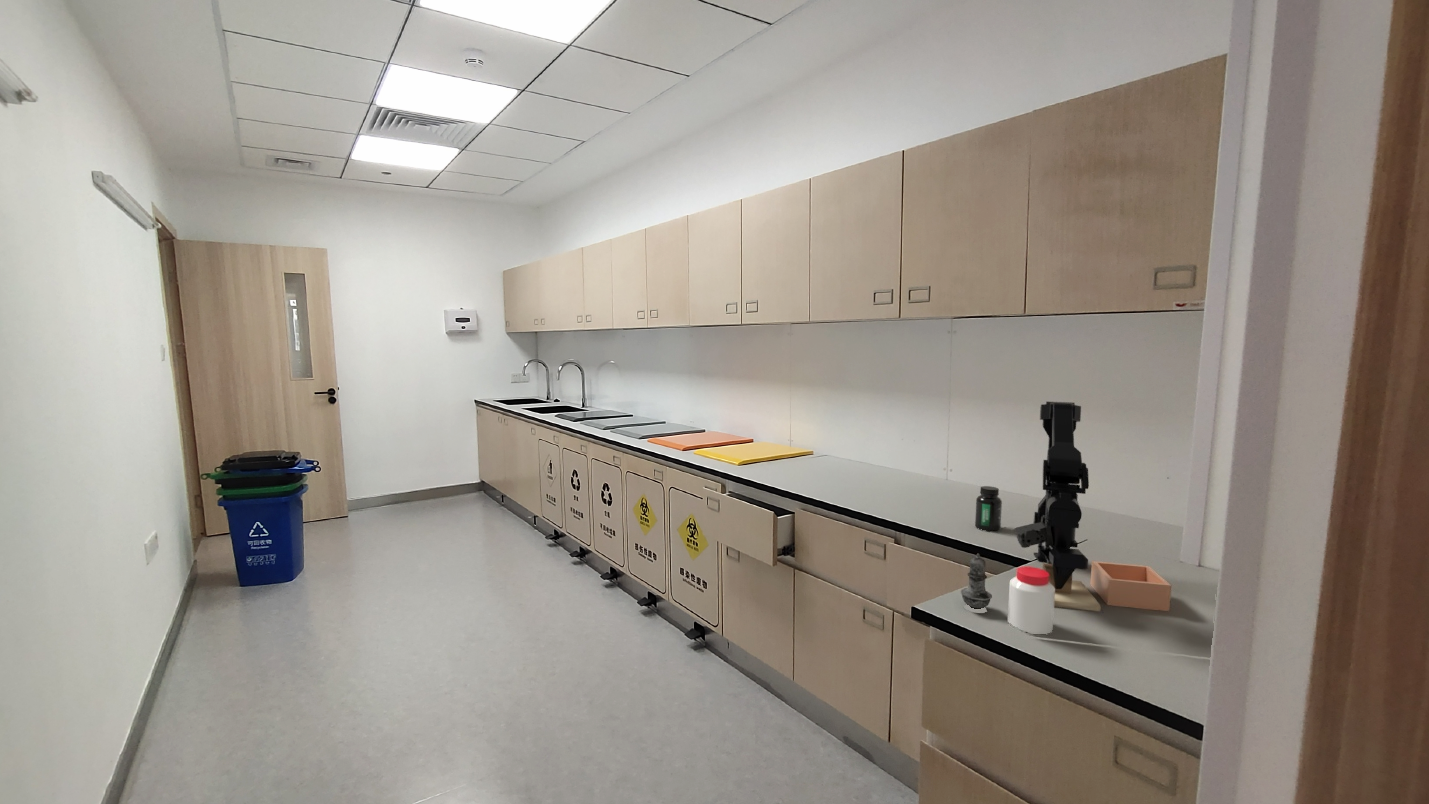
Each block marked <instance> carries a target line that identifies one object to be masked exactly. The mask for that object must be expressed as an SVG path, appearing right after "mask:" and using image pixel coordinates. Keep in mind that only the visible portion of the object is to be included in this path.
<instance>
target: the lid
mask: <svg viewBox="0 0 1429 804" xmlns="http://www.w3.org/2000/svg"><path fill="white" fill-rule="evenodd" d="M1042 570H1044V571H1046V572H1048V573H1049V582H1050V583H1051V584H1052V585H1053V586H1054V587H1055V581H1054V573H1053V565H1052V564H1048V563H1044V562H1042ZM1054 606H1055V607H1064V608H1073V609H1083V610H1092V611H1100V609H1101V604H1100V603H1099V602H1098V601H1097V599H1096V598H1095V596H1093V594H1092V593H1091V592H1090V591H1089V589H1088V588H1087V587H1086V585H1085V584H1083V582H1082V581H1081V580H1073V573H1072V574H1071V576H1070V577H1069V579H1068V580H1067V582H1066V583H1065V585H1064V586H1063V588H1062V589H1056V588H1055V602H1054Z"/></svg>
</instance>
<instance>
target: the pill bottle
mask: <svg viewBox="0 0 1429 804" xmlns="http://www.w3.org/2000/svg"><path fill="white" fill-rule="evenodd" d="M1042 569H1043V568H1042ZM1042 569H1041V568H1037V567H1034V566H1033V567H1032V566H1020V567H1017V568H1016V575H1015V576H1013V577H1012V578H1011V579H1010V580H1009V584H1008V585H1009V587H1008V588H1009V589H1008V602H1007V603H1008V605H1007V623H1008V622H1009V623H1011V624H1012V625H1013V626H1015V627H1018V628H1019V629H1021V630H1024V631H1027V632H1032V633H1038V634H1046V633H1050V632H1051V633H1053V631H1052V630H1054V619H1055V618H1054V617H1055V613H1054V612H1055V608H1054V602H1055V587H1054V586H1053V585H1052V584H1051V583H1050V582H1049V573H1048V572H1046V571H1044V570H1042ZM1051 633H1050V634H1051ZM1046 635H1047V634H1046Z"/></svg>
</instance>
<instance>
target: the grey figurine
mask: <svg viewBox="0 0 1429 804" xmlns="http://www.w3.org/2000/svg"><path fill="white" fill-rule="evenodd" d="M980 556H981V554H980V553H977V554H976V556H973V557H972V558H971V559H970V561H969V572H967V576H968V585H967V587H965V588H963V589H961V590H960V594H961V596H962V600H963V602H964V603H965V605H966V604H967V605H969V606H970V607H971V608H974V609H981V608H984V607H985V608H987V606H989V604H990V602H991V599H992V598H993V595H992V594H991V592H989V591H987V590H986V579H987V578H988V576H987V575H986V561H985V559H984V558H982V557H980Z"/></svg>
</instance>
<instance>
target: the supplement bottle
mask: <svg viewBox="0 0 1429 804" xmlns="http://www.w3.org/2000/svg"><path fill="white" fill-rule="evenodd" d="M999 496H1000V492H999V488H998V487H996V486H990V485H984V486H980V491H979V495H978V496H977V497H976V499H975V517H974V518H975V519H974V520H975V521H974V525H975V526H974V527H975V528H976V529H978V528H979V529H978V530H980V529H982V530H981V531H983V530H986V531H985V532H990V531H994V532H999V531H1000V530H1001V525H1002V509H1003V501H1002V499H1001V498H1000V497H999ZM998 530H999V531H998Z"/></svg>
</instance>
